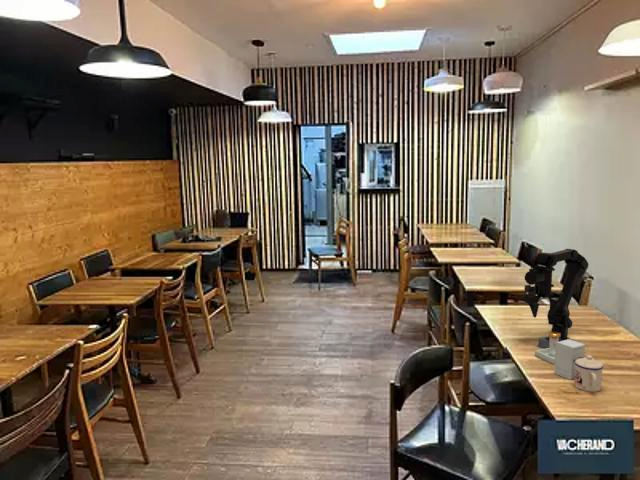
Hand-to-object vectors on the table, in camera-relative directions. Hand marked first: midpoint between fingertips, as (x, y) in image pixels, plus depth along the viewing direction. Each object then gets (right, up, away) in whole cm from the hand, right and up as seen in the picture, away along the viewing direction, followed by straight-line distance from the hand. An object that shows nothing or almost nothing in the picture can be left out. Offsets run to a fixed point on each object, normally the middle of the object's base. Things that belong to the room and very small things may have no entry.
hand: (543, 316), depth 226 cm
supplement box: (-4, -18, -31) cm, 36 cm away
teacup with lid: (-3, -20, -43) cm, 48 cm away
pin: (-2, -15, -15) cm, 21 cm away
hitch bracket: (+3, -14, -3) cm, 14 cm away
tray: (-2, -15, -15) cm, 21 cm away
